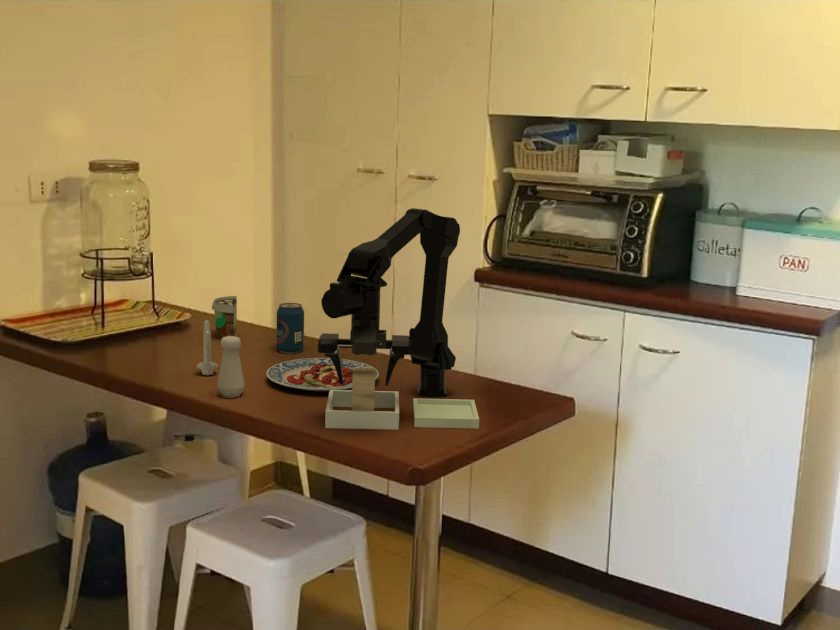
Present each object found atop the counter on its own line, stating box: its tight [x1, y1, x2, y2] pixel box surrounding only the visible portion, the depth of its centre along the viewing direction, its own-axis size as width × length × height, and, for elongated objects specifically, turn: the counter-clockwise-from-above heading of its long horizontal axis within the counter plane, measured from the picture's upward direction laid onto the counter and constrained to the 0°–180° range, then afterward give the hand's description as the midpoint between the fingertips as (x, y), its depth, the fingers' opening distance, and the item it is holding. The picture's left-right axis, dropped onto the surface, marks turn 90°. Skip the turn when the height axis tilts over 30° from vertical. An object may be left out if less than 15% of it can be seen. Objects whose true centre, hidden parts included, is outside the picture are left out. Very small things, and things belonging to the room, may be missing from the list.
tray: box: [412, 397, 480, 430], centre depth 209 cm, size 13×13×2 cm
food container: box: [211, 295, 238, 341], centre depth 268 cm, size 12×6×10 cm, turn 6°
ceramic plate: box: [266, 357, 379, 392], centre depth 232 cm, size 26×26×3 cm
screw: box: [196, 319, 219, 376], centre depth 233 cm, size 13×5×5 cm
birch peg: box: [351, 367, 376, 411], centre depth 206 cm, size 4×4×10 cm
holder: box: [324, 389, 400, 431], centre depth 207 cm, size 15×15×4 cm
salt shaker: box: [217, 335, 246, 399], centre depth 218 cm, size 6×6×13 cm
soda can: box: [276, 302, 305, 355], centre depth 256 cm, size 7×7×12 cm
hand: (364, 384), depth 206 cm, fingers open, 9 cm apart
